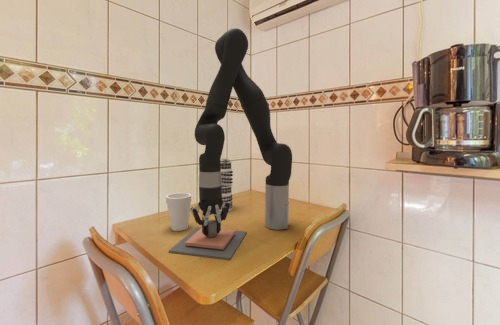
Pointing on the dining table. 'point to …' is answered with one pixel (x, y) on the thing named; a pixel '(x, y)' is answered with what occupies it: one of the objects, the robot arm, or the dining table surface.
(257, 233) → the dining table surface
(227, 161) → the decorative candle
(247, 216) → the dining table surface
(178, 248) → the mat
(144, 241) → the dining table surface
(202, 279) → the dining table surface
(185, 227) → the foam cup
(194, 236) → the lid
